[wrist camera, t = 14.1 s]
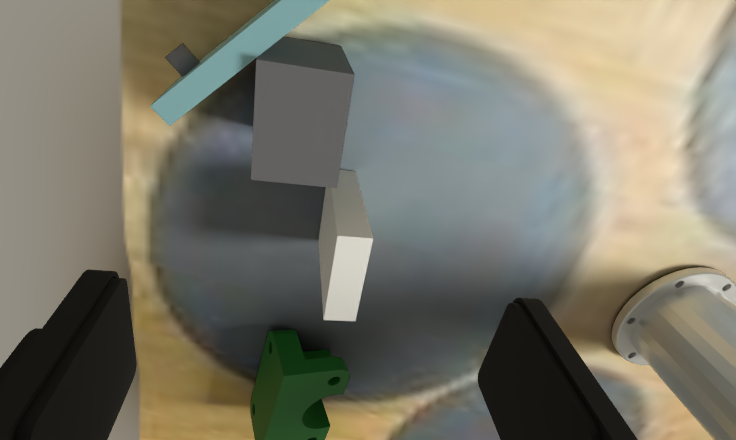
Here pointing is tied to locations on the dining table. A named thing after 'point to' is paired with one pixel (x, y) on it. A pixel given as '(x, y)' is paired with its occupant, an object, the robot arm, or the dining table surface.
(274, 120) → the gray rectangular block
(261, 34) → the door
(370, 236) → the white rectangular block
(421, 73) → the dining table surface
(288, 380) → the clamp
